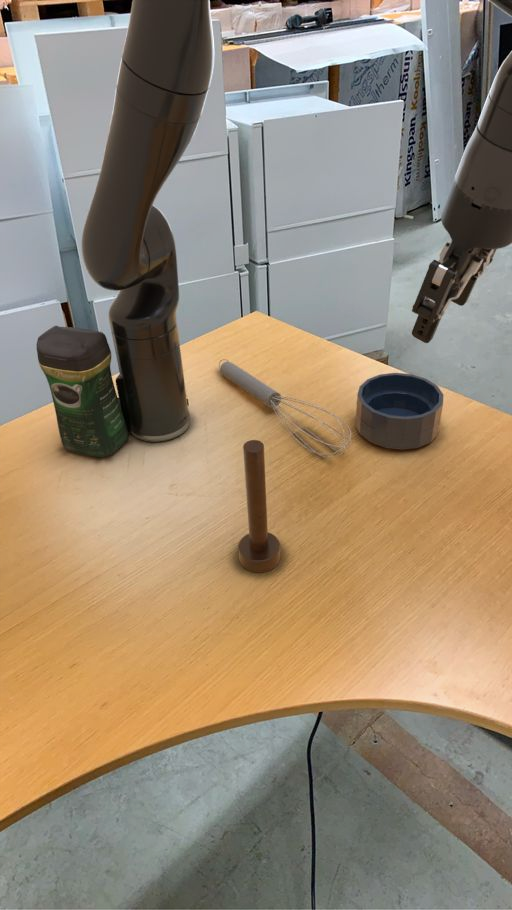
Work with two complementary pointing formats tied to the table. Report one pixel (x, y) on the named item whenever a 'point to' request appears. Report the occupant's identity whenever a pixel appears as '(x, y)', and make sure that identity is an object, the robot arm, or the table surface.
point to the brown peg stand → (257, 515)
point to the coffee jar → (82, 390)
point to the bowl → (399, 410)
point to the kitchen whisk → (273, 399)
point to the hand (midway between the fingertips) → (438, 319)
